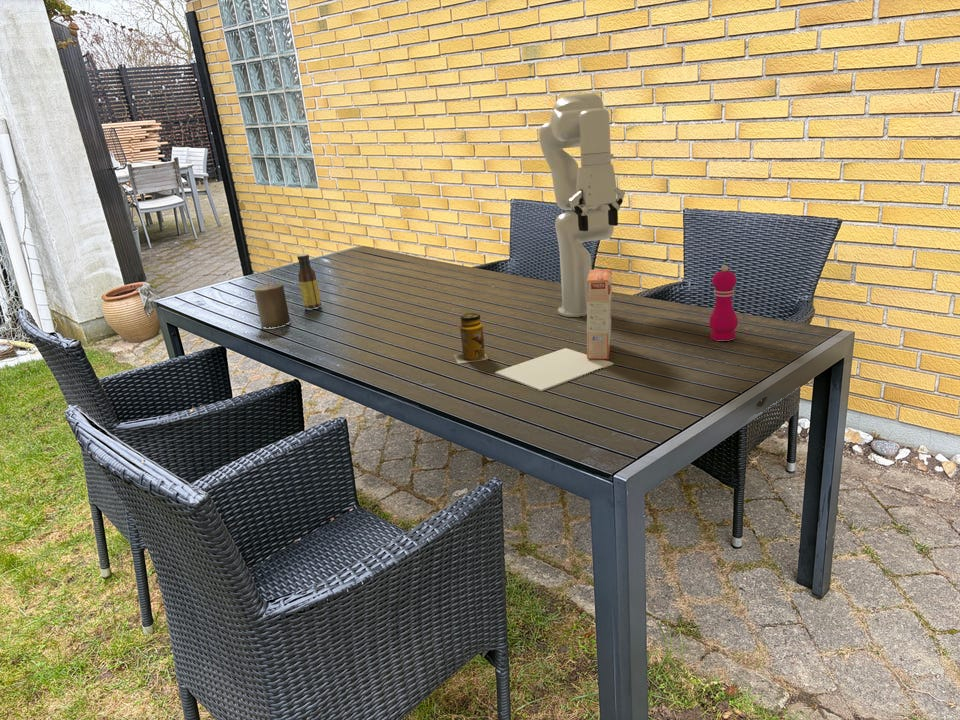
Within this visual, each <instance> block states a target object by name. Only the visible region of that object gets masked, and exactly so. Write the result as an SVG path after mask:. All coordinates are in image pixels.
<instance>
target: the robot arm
mask: <svg viewBox="0 0 960 720" xmlns="http://www.w3.org/2000/svg"><path fill="white" fill-rule="evenodd" d="M538 135H539V144H540V149H541V151H542V154H543V157H544V158H545V161H546V163H547V165H548V167H549V169H550V172H551V178H552V184H553V191H554V197H555V201H556V205H557V207H558V208H559V209H561V210H562V211H563V210H564V211H565V210H566V212H562V213H561V214H559V215H558V216H557V217H556V219H555V222H554V226H555V233H556V238H557V242H558V243H557V244H558V248H559V249H558V250H559V261H560V262H559V265H560V285H561V302H562V304H561V306H559V307H558V308H557V313H558V314H559V315H560V316H563V317H569V318H581V317H580V316H583V317H587V316H586V315H587V279H588V276H589V273H590V270H592V256H591V253H590V252H589V251H588V249H587V248H586V247H585V246H584V245H583V243H586V242H593V241H595V242H596V241H604V240H608V239H610V238H611V237H612V235H613V234H614V230H615V229H614V227H616V226H618V225H619V215H618V214H619V210H620V209H621V207H620V206H621V205H622V203H624V201H623V200H624V197H625V194H626V191H624V189H621V188H619V187H617V181H616V173H615V169H614V165H613V164H612V160H613V159H614V154H613V153H612V152H611V150H612V149H611V148H612V147H611V121H610V112H609V111H608V110H607V109H606V108H604V102H603V99H602V98H601V96H600V95H598V94H596V93H585V94H584V93H583V94H573V95H565V96H563V97H560V98H559V99H558V100H556V101H555V103H554V105H553V107H552V113H551V118H550V121H548V122H545V123H544V124H543V125H541V127H540V130H539V134H538ZM570 148H580V149H579V150H580V165H581V166H579V164H578V162H577V161H576V159H575V158H574V157H573V156H572V155H571V154H570V153H568V152H567V151H566V150H564V149H570Z"/></svg>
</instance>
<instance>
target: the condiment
mask: <svg viewBox="0 0 960 720" xmlns="http://www.w3.org/2000/svg"><path fill="white" fill-rule="evenodd" d="M483 329H484V327H483V324H482V323H481V315H480V314H479V313H477V312H468V313H464V314H462V315H461V316H460V326H459V331H460V337H461V338H460V340H461V348H462V349H461V351H462V353H459V354H453V355H452V356H453V358H454V360H455V361H456V363H457V364H458V365H461V364H465V363H471V362H474V363H475V362H479V361H485V360H489V359H490V358H489V357H488V356H487V354H486V353H485V351H486V350H485V340H484V339H485V337H484V330H483Z"/></svg>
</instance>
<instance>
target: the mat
mask: <svg viewBox="0 0 960 720" xmlns="http://www.w3.org/2000/svg"><path fill="white" fill-rule="evenodd" d="M613 365H615V364H614V362H612V361H609V360H607V359H587V353H583V352H579V351H577V350H573V349H569V348H566V347H565V348H561V349H559V350H556V351H553V352H550V353H546V354H545V355H541V356H538V357H535V358H532V359H529V360H526V361H524V362H521V363H517V364H515V365H512V366H511V365H510V366H509V367H506V368H502V369H499V370H497V371H495V372H494V373H495V374H496V375H499V376H501V377H503V378H506V379H508V380H511V381H514V382H516V383H518V384H521V385H524V386H526V387H529V388H532V389H534V390H536V389H537V391H539V392H544V391H546V390H549V389H552V388H554V387H558V386H559V385H562V384H565V383H567V382H570V381H573V380H575V379H579V378H581V377H583V375H584V376H586V374H587V375H588V373H589V374H591V373H590V372H592V373H594V372H593V371H595V370H597V371H599V370H598V369H600V370H602V369H601V368H603V369H606V368H608V367H610V366H613ZM595 372H596V371H595Z"/></svg>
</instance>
